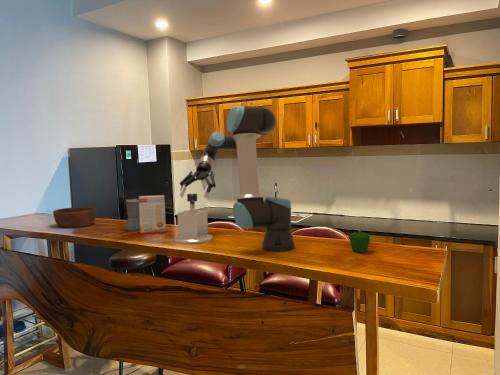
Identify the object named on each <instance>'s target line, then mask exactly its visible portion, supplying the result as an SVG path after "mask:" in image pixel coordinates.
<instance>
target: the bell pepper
mask: <svg viewBox="0 0 500 375" xmlns="http://www.w3.org/2000/svg"><path fill="white" fill-rule="evenodd" d="M370 242H371V236H370V234H369V233H366V232H362V229H358V232H356V231H354V232H353V233H350V235H349V243H350V247H351V250H352V251H354V252H356V253H365V252H367V250H368V249H369V245H370Z"/></svg>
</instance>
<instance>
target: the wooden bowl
mask: <svg viewBox="0 0 500 375" xmlns="http://www.w3.org/2000/svg"><path fill="white" fill-rule="evenodd" d="M52 214H53V218H54V222H55V223H56V225H57V227H59V228H62V229H63V228H64V229H67V228H68V229H74V228H82V227H89V226H91V225H93V224H94V223H95V220H96V218H97V208H96V207H92V206H91V207H90V206H88V207H87V206H78V207H77V206H74V207H65V208H59V209H55V210H53V212H52Z"/></svg>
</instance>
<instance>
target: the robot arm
mask: <svg viewBox="0 0 500 375" xmlns="http://www.w3.org/2000/svg"><path fill="white" fill-rule="evenodd" d="M226 119H227V120H226V129H227V132H229V133H231V135H224V133H222V132H220V131H214V132H212V133H211V135H210V137H209V138H208V141H207V144H206V146H205V148H204V150H203V153H202V155H201V157H200V159H199V162H198V164H197V167H196V170H195V172H193V171H191V170H190V172H189V173H188V174H187V175H186V176H185V177H184V178H183V179H182V180H181V181H179V185H180V186H181V187H180V192H179V196H180V197H181V198H184V196H185V193H186V191H187V189H188V188H187V187H188V186H190V185H192V183H194V182H197V181H204V180H205V182H206V183H207V185H206V186H205V189H204V191H203V194H202V195H203V197H204V199H207V197H208V194H209V193H210V192H211V190H212V188H216V181H215V173H214V171H212V169H213V165H214V164H215V160H216V159H217V156H218V154H219V152H220V151H226V150H227V151H236V154H237V168H238V170H237V172H238V182H239V185H238V186H239V195H238V196H237V197H236V202H234V204H233V206H232V207H233V208H232V216H233V218H234V221H235V223H236V225H237V226H238V227H239V228H241V229H255V228H261V227H263V228H264V227H265V232H264V236H263V240H262V242H261V248H262V249H263V250H266V251H270V252H271V251H272V252H288V251H292V250H294V249H295V248H296V242H295V240H294V237H293V233H292V205H291V204H292V203H291V200H290V199H288V198H282V197H275V196H265V198H264V196H263V195H262V193H260V184H259V183H260V182H259V170H258V154H257V153H258V152H257V139H258V138H260V137H261V136H267V135H269V134H270V133H272V132H273V130H275V128H276V124H277V118H276V115H275V113H274V112H273V111H272V110H271V109H269V108H268V107H264V106H253V105H252V106H249V105H235V106H232V107H231V108H230V110H229V112H228V114H227V118H226ZM208 177H210V179H211V180H209V179H208Z"/></svg>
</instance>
